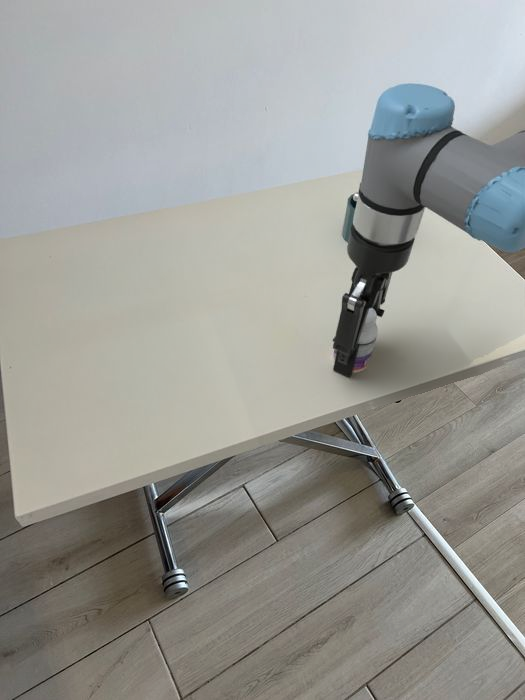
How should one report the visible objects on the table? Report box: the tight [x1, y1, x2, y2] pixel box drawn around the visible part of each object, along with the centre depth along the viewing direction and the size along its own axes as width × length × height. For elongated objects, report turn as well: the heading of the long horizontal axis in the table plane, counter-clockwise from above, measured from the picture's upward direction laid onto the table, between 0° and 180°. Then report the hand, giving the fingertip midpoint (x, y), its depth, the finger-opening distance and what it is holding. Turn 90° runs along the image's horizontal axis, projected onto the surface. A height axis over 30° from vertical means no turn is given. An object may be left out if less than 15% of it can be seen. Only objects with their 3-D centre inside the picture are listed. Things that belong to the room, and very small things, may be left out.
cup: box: [341, 193, 357, 243], centre depth 98 cm, size 8×8×7 cm
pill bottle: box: [332, 308, 379, 374], centre depth 76 cm, size 5×5×10 cm
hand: (350, 358), depth 79 cm, fingers closed on pill bottle, 5 cm apart
